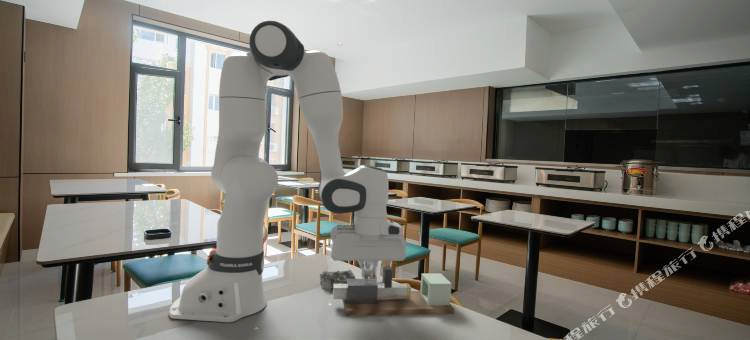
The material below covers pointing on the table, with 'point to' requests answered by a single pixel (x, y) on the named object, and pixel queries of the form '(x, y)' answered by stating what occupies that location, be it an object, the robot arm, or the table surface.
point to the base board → (397, 307)
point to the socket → (435, 289)
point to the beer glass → (375, 273)
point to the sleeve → (361, 291)
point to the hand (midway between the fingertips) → (367, 276)
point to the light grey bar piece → (379, 288)
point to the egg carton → (335, 278)
